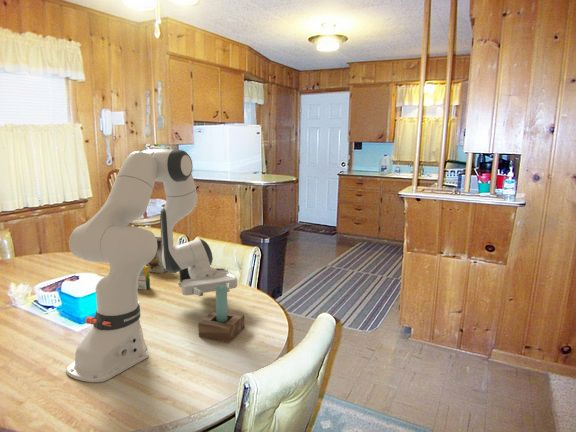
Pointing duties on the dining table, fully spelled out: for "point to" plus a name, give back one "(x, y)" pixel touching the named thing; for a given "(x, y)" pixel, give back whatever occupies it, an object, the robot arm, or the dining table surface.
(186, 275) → the battery charger
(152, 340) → the dining table surface
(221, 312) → the peg
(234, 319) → the socket block
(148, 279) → the crayon box
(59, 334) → the dining table surface
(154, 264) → the coffee box
